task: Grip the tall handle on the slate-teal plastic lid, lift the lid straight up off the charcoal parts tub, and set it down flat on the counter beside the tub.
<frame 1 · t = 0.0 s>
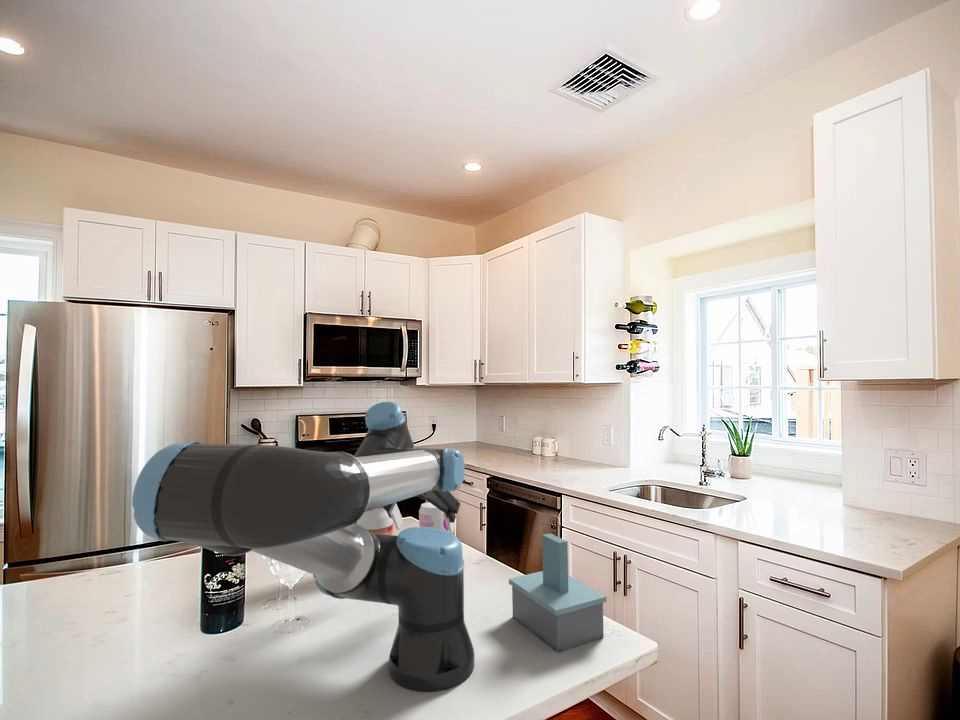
hand: (425, 527, 125), 15 cm above the countertop, tool tilted 35°, fingers open, 13 cm apart
parts tub: (556, 626, 106), on the countertop
fruit juice: (375, 570, 139), on the countertop
lid: (555, 592, 107), point 7 cm above the countertop, touching parts tub
supplement can: (434, 559, 147), on the countertop
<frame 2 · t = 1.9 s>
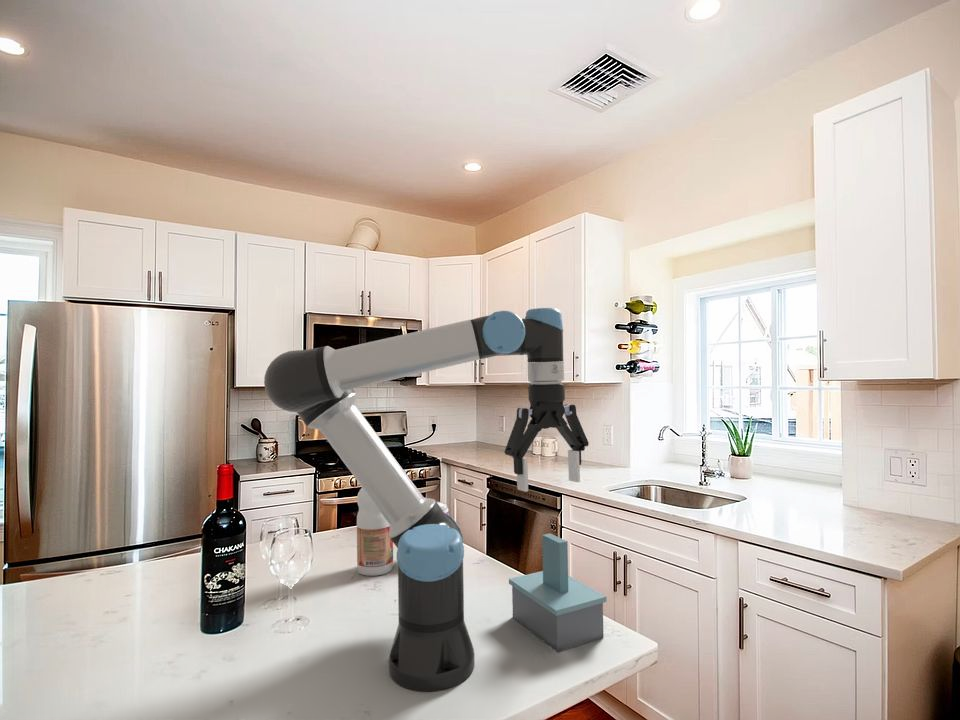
hand: (549, 485, 108), 28 cm above the countertop, tool pointing down, fingers open, 13 cm apart
nothing on the countertop moved.
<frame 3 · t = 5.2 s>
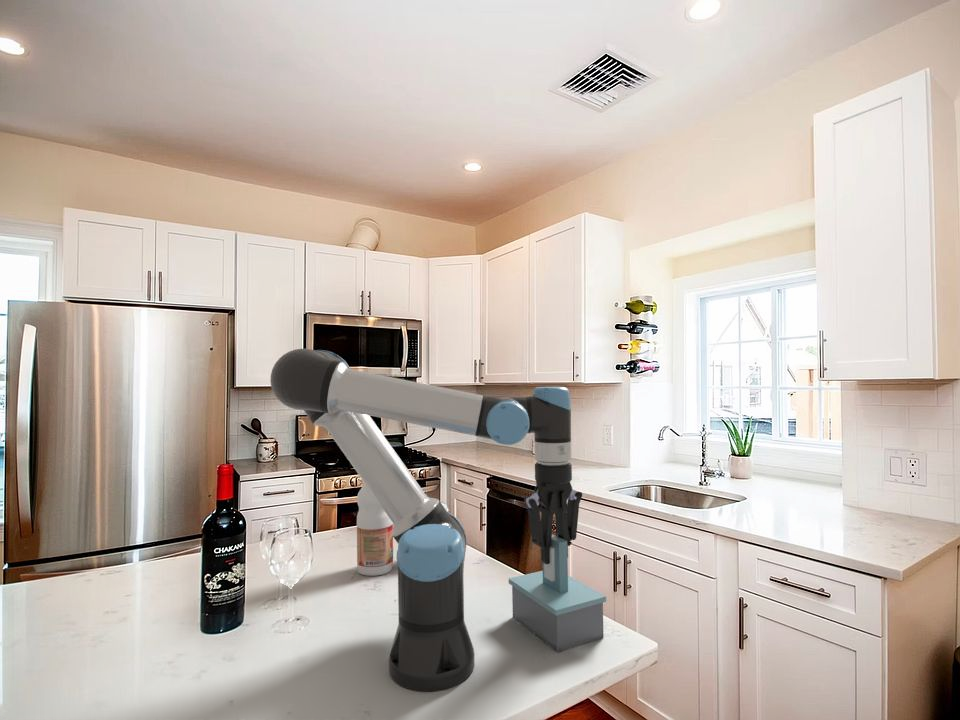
hand: (555, 577, 107), 10 cm above the countertop, tool pointing down, fingers closed on lid, 2 cm apart
lid: (555, 591, 107), point 7 cm above the countertop, touching gripper
everything else where it was.
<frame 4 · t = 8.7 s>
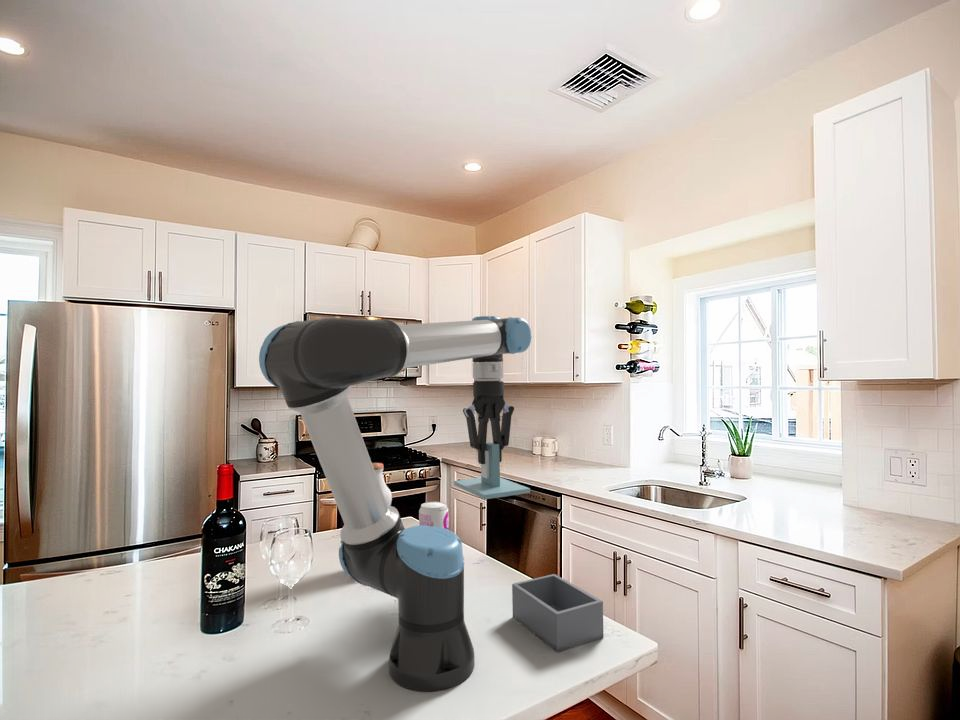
hand: (490, 476, 127), 27 cm above the countertop, tool pointing down, fingers closed on lid, 2 cm apart
lid: (490, 488, 127), point 24 cm above the countertop, touching gripper
everything else where it was.
when the fingers open (4 cm above the countertop, at t = 12.3 s): lid drops 2 cm, on the countertop.
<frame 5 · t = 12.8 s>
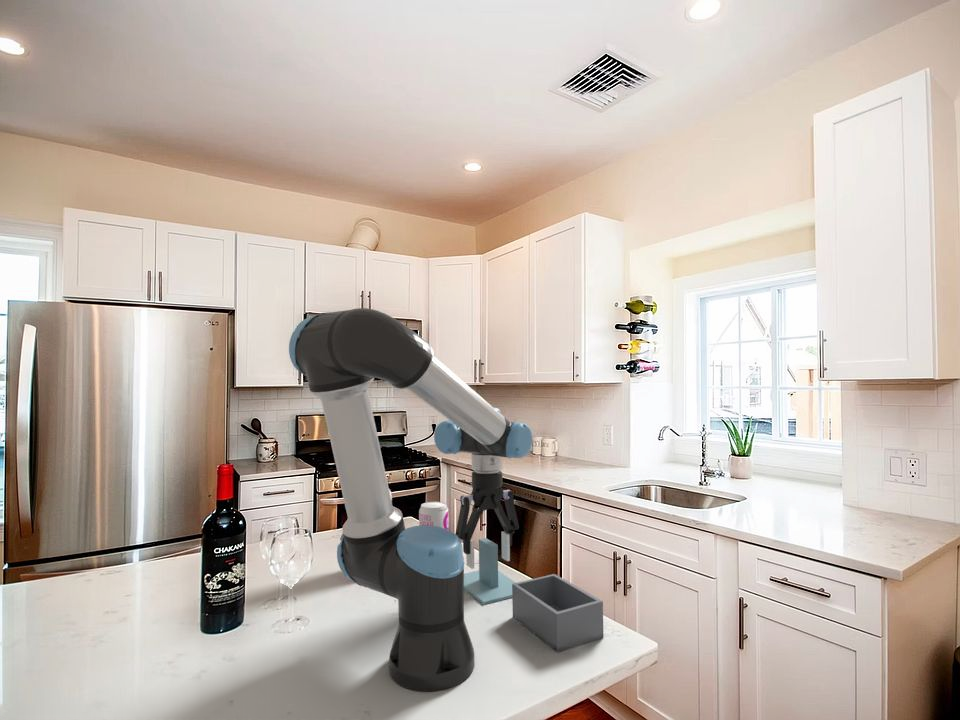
hand: (488, 562, 127), 6 cm above the countertop, tool pointing down, fingers open, 9 cm apart
lid: (488, 587, 127), on the countertop
everything else where it was.
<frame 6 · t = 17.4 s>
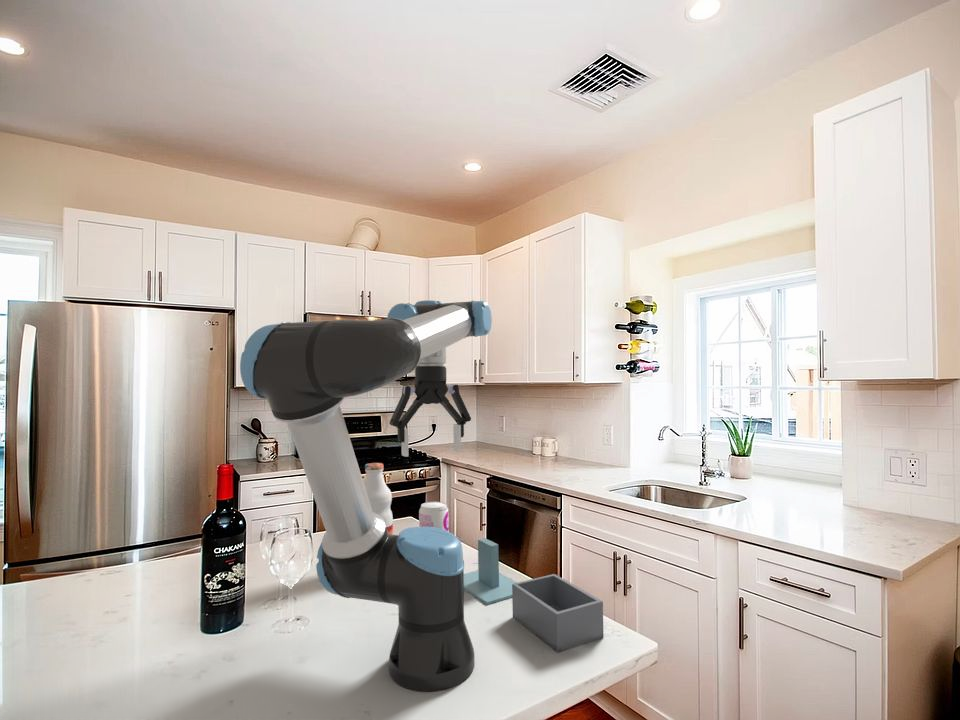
hand: (431, 453, 126), 33 cm above the countertop, tool pointing down, fingers open, 13 cm apart
nothing on the countertop moved.
at the end: lid inside the target area (0.0 cm from its centre), on the countertop; lid tilted 0°; lid touching countertop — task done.
